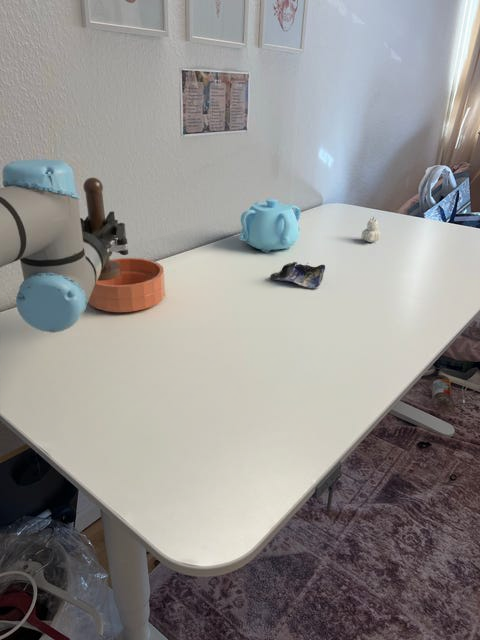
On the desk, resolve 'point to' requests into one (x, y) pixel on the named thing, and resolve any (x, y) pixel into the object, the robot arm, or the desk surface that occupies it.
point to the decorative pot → (270, 225)
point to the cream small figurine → (371, 231)
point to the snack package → (301, 274)
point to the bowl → (130, 287)
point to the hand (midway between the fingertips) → (103, 218)
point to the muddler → (99, 222)
